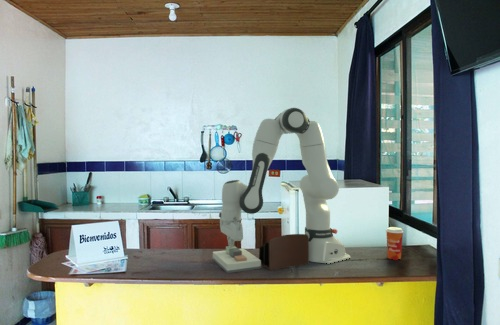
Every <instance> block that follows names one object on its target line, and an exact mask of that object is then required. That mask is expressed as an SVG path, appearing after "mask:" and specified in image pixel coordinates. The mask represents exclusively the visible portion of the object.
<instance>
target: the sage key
mask: <svg viewBox="0 0 500 325" xmlns="http://www.w3.org/2000/svg"><path fill="white" fill-rule="evenodd" d="M231 249H238V247H237V246H236V245H234V247H230V246H229V245H228V246H225V250H226V253H227V254H228V255H229V254H230V250H231Z"/></svg>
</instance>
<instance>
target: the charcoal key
mask: <svg viewBox="0 0 500 325" xmlns="http://www.w3.org/2000/svg"><path fill="white" fill-rule="evenodd" d="M240 249H241V248H237V249H231V250H230V256H231V257H232V258H235V256H239V255H242V251H241V250H240Z"/></svg>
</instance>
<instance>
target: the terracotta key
mask: <svg viewBox="0 0 500 325" xmlns="http://www.w3.org/2000/svg"><path fill="white" fill-rule="evenodd" d="M234 259H235V260H236V261H237V262H238V261H246V260H247V257H245V256H244V255H239V256H235V258H234Z"/></svg>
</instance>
